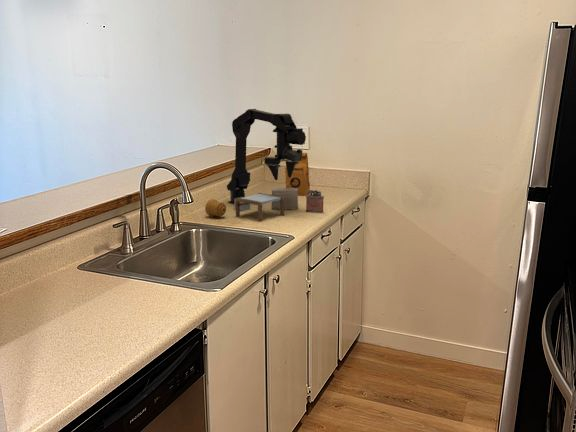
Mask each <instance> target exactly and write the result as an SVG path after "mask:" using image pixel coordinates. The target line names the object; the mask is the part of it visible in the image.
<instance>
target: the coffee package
mask: <svg viewBox="0 0 576 432" xmlns="http://www.w3.org/2000/svg"><path fill="white" fill-rule="evenodd" d="M298 162H299V163H297V164H296V165H295V167H294V170H293V173H292V176H291V178H289V177H288V173H287V167H286V166H284V167H285V170H284V172H285V188H298V197H301V196H302V197H306V195H310V194H311V193H308V190H311V189H310V187H311V186H310V184H311V183H310V168H309V157H308V153H307V152H302V157H301V161H298Z"/></svg>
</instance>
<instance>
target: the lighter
mask: <svg viewBox="0 0 576 432" xmlns="http://www.w3.org/2000/svg"><path fill="white" fill-rule="evenodd" d="M308 193H310V194H308V195H306V196H305V198H306V199H305V200H306V203H305V206H306V207H305V209H306V210H305V212H306V213H313V214H323V213H324V198H325V196H324V195H322V191H321V190H318V189H315V190H314V189H310V190H308Z"/></svg>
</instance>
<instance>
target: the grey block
mask: <svg viewBox="0 0 576 432" xmlns="http://www.w3.org/2000/svg"><path fill="white" fill-rule="evenodd" d="M271 195H275V196H280V197H284V210H298V209H299V196H298V188H286V187H272V188H271ZM271 210H280V200H278V201H274V202H271Z"/></svg>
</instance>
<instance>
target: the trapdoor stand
mask: <svg viewBox="0 0 576 432" xmlns="http://www.w3.org/2000/svg"><path fill="white" fill-rule="evenodd" d="M257 194H264V195H269V196H275V195H272V194H270V193H269V194H268V193H262V192H259V193H257ZM275 197H280V196H275ZM240 202H241V203H240ZM246 204H250V205H254V206H257V216H258V217H257V222H260V223H261V222H263V204H262V202H258V201H253V200H247V199H242V198H236V210H235V217H237V218H239V217H240V216H241V213H240V212H241V211H240V206H242V205H246ZM279 212H280V213H279V215H280V217H282V216H285V209H284V197H281V200H280V209H279Z"/></svg>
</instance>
